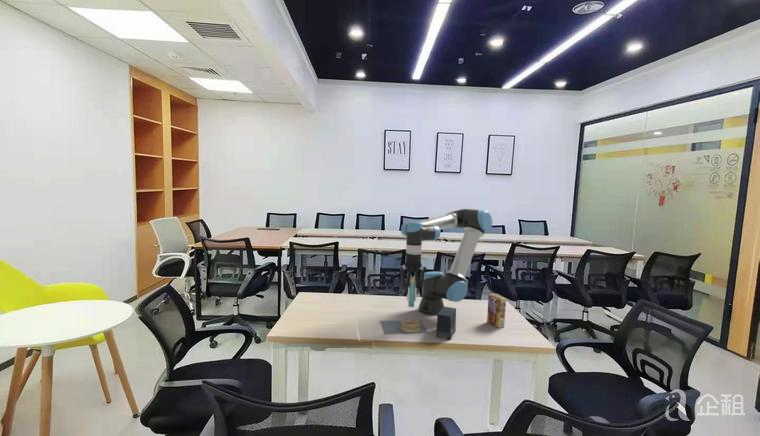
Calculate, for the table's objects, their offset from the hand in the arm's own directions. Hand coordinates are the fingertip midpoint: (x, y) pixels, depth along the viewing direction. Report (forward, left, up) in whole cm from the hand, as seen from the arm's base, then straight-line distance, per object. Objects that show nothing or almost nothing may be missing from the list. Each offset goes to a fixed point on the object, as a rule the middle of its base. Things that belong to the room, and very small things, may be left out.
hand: (411, 300), depth 173 cm
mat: (+3, -3, -15) cm, 16 cm away
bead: (0, 0, -15) cm, 15 cm away
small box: (-16, +7, -15) cm, 23 cm away
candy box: (-47, -5, -15) cm, 50 cm away
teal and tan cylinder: (0, 0, -3) cm, 3 cm away
